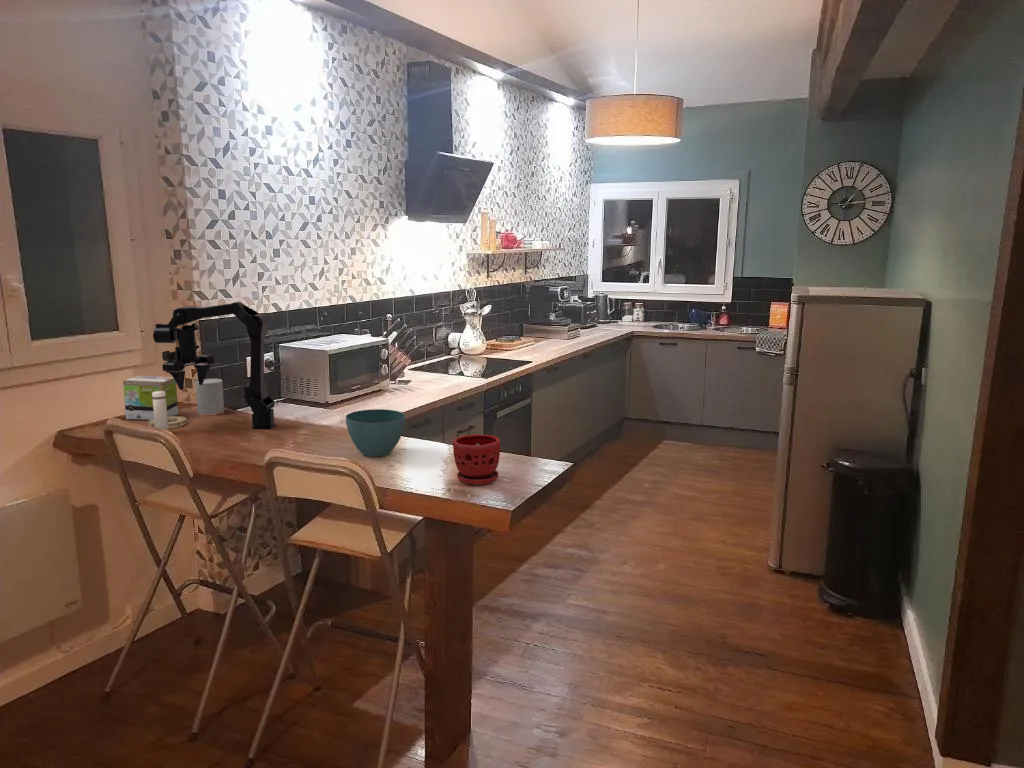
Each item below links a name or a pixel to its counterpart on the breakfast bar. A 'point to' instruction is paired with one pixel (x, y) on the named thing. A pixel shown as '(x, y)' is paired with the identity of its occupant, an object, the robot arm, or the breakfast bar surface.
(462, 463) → the plant pot
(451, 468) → the breakfast bar surface
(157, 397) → the needle peg
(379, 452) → the plant pot
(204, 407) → the gray cylinder
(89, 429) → the breakfast bar surface
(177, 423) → the bead ring
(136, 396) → the tea box
